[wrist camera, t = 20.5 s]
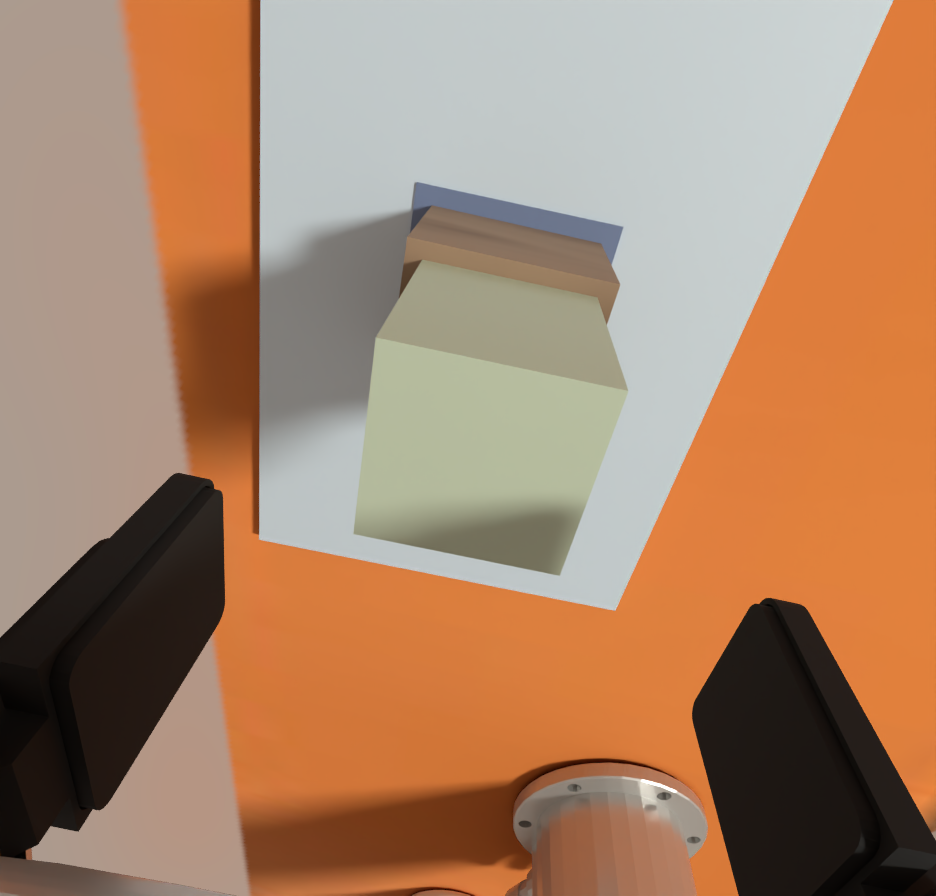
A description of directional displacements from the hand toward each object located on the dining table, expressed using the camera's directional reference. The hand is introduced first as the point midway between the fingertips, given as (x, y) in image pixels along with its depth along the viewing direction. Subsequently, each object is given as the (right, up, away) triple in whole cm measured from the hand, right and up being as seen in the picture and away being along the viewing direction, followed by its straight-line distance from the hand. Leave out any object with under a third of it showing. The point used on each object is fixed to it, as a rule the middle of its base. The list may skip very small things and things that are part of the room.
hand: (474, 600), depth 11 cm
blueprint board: (+1, +8, +12) cm, 15 cm away
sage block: (+1, +5, +7) cm, 9 cm away
